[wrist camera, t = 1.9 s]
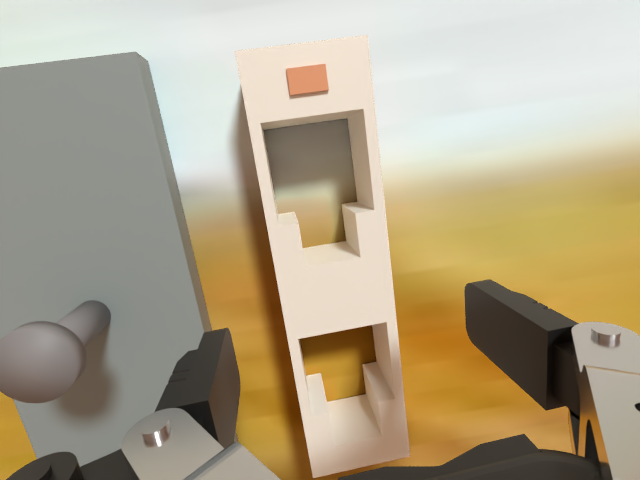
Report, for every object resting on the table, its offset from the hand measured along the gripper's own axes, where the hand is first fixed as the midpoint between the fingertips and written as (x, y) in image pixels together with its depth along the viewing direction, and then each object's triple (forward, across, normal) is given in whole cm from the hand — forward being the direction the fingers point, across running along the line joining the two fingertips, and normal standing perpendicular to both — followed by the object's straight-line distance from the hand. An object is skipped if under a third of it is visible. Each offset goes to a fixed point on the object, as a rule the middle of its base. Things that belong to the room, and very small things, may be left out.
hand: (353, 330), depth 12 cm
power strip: (+8, 0, 0) cm, 9 cm away
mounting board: (+9, +12, +3) cm, 15 cm away
